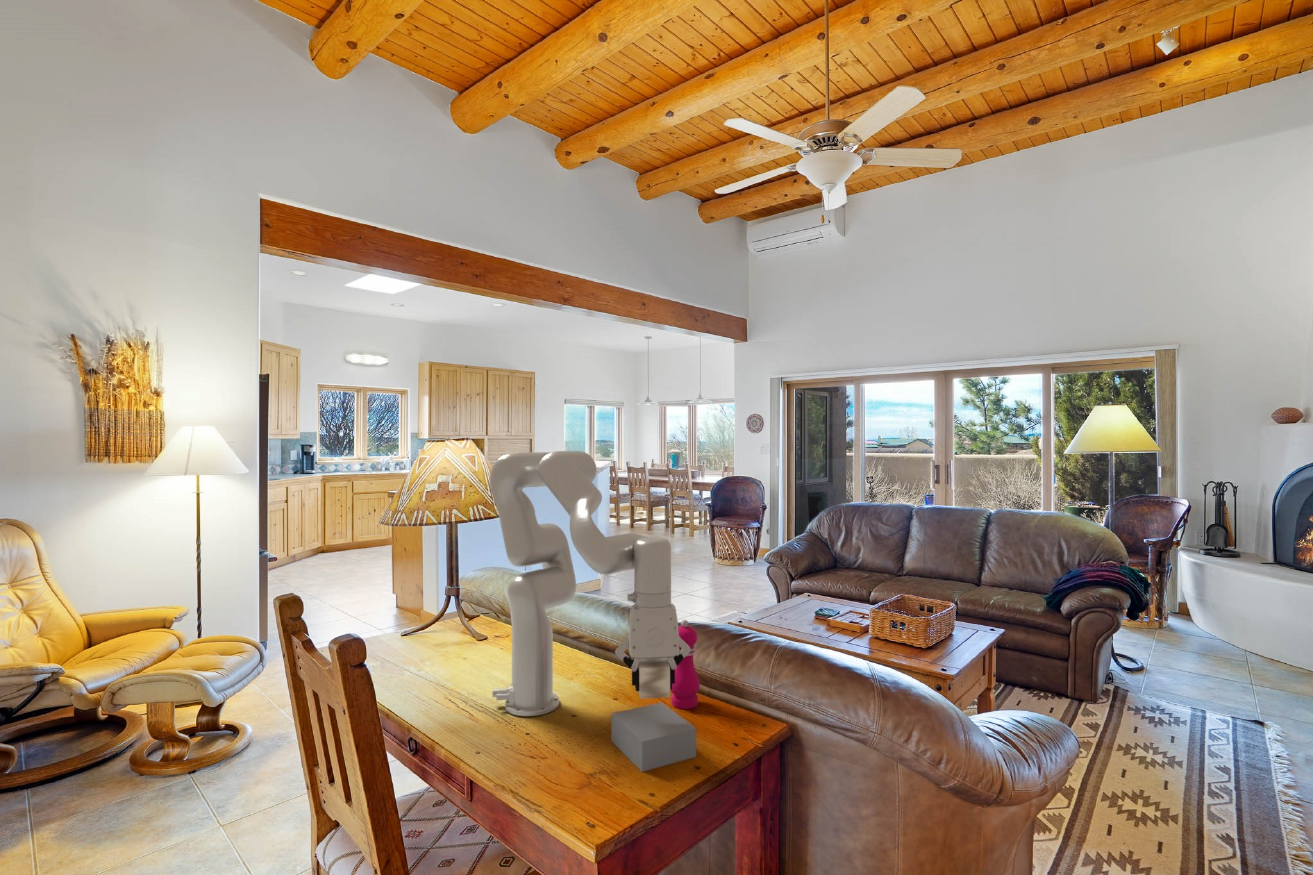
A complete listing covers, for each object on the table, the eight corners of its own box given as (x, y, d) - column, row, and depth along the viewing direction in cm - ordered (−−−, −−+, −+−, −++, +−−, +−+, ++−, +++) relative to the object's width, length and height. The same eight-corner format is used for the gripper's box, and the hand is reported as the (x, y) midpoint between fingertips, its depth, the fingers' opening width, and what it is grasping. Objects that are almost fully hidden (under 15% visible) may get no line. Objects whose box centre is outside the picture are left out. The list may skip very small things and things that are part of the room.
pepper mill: (690, 712, 145) (690, 625, 145) (663, 705, 149) (663, 621, 149) (705, 701, 151) (705, 618, 151) (679, 695, 155) (679, 614, 155)
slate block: (642, 773, 119) (642, 741, 119) (611, 742, 131) (611, 713, 131) (695, 758, 125) (695, 727, 125) (661, 729, 137) (661, 702, 137)
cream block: (640, 698, 124) (639, 668, 125) (637, 687, 130) (637, 658, 131) (670, 696, 125) (669, 666, 125) (666, 685, 131) (665, 656, 131)
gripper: (611, 605, 123) (611, 697, 123) (697, 602, 125) (698, 692, 125) (609, 596, 131) (610, 683, 131) (691, 593, 133) (692, 679, 133)
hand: (653, 687), depth 128 cm, fingers closed on cream block, 6 cm apart
